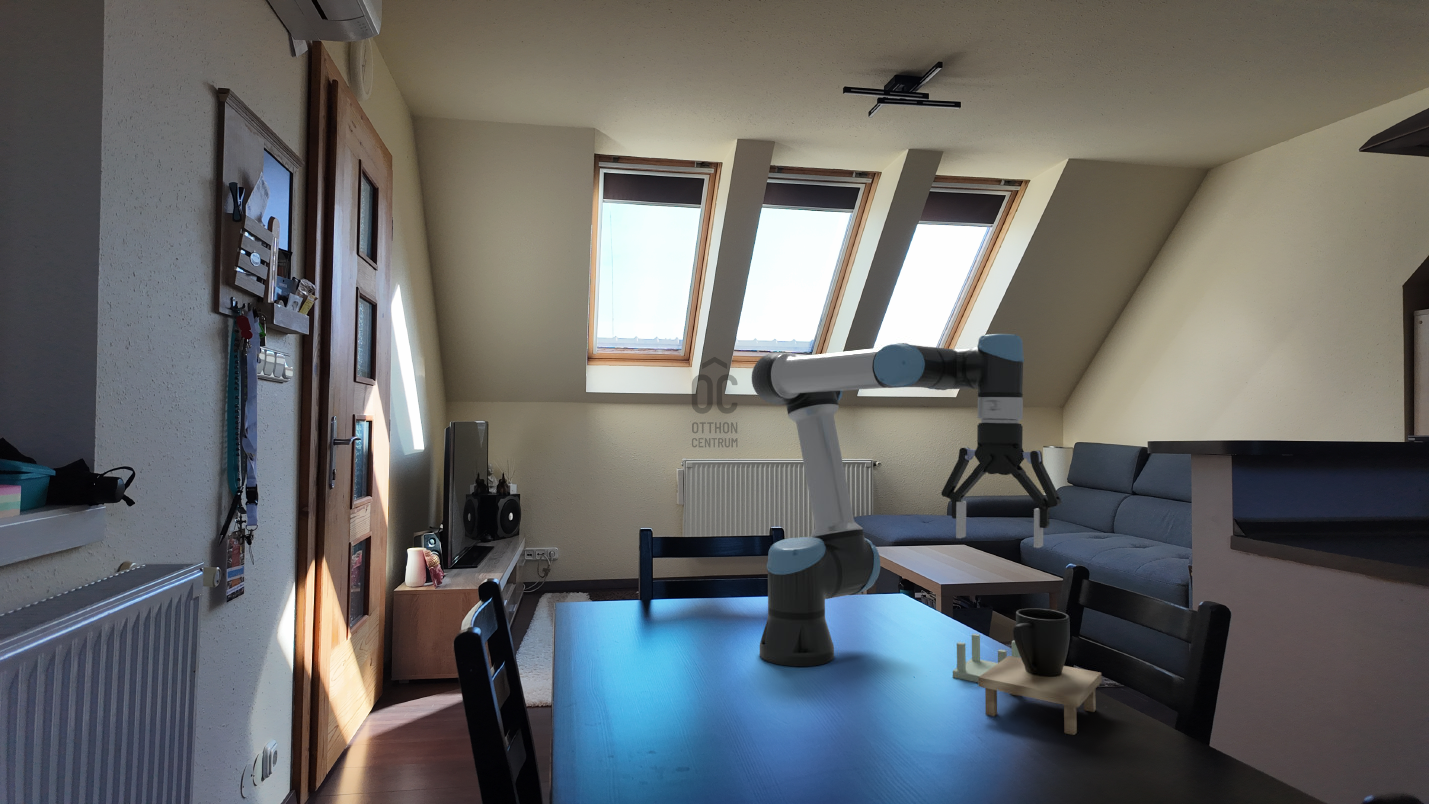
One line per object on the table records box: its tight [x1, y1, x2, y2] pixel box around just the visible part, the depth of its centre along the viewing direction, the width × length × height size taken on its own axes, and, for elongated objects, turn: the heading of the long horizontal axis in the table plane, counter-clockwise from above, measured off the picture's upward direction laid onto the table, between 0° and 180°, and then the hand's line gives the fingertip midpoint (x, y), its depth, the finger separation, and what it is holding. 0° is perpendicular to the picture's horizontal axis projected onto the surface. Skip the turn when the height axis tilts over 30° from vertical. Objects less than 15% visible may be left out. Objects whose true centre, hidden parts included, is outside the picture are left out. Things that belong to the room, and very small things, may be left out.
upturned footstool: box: [952, 633, 1021, 684], centre depth 143 cm, size 10×10×6 cm
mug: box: [1012, 607, 1071, 677], centre depth 125 cm, size 8×12×10 cm
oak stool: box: [978, 655, 1102, 736], centre depth 124 cm, size 15×15×6 cm
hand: (998, 542), depth 134 cm, fingers open, 13 cm apart
